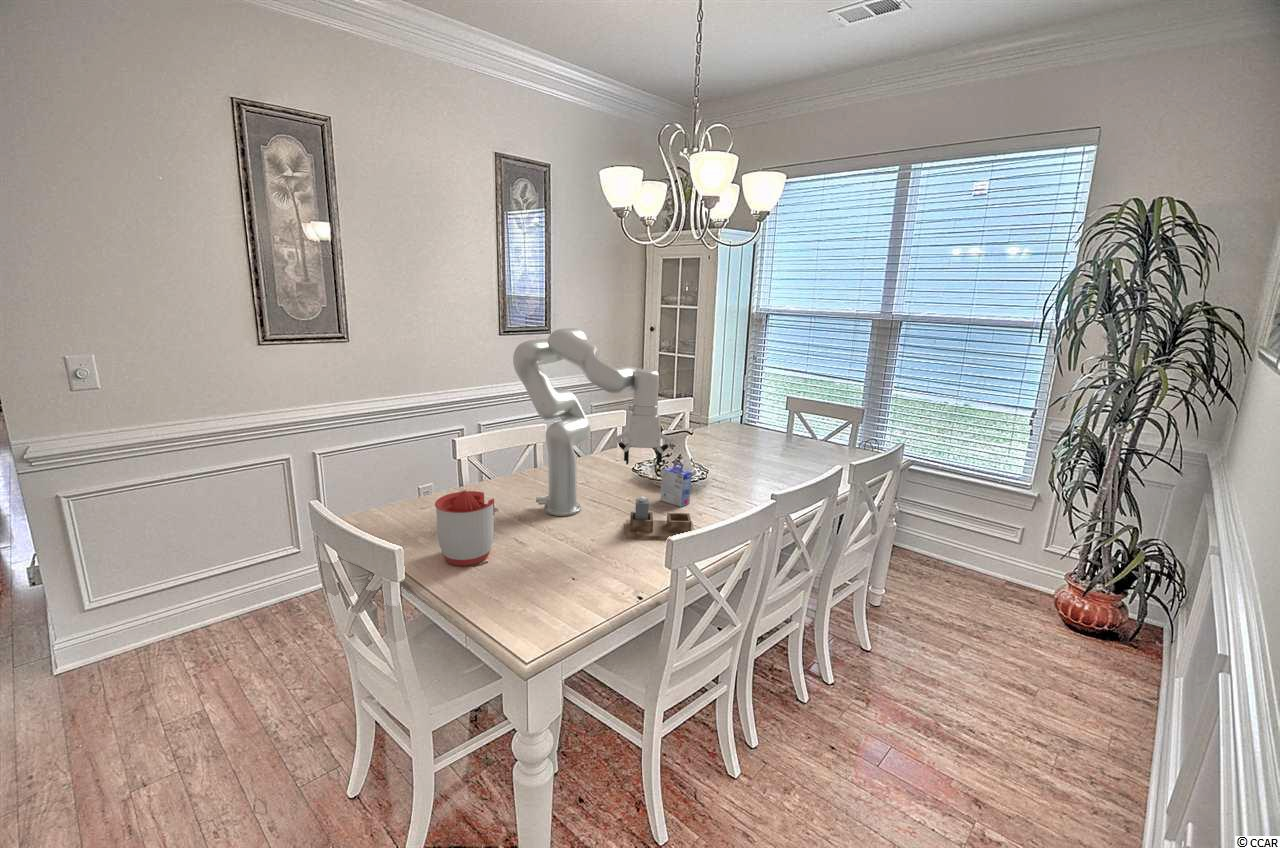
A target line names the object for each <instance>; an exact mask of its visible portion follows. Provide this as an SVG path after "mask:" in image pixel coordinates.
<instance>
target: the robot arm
mask: <svg viewBox="0 0 1280 848" xmlns="http://www.w3.org/2000/svg"><path fill="white" fill-rule="evenodd" d="M598 357H599V350H598V347H597V346H596V345H594V344H592V343H590V342H589V341H588V338H587V336H586V334H585V332H583V330H581V329H579V328H576V327H570V328H569V327H568V328H558V329H555V330H553V331H552V332H551V333H550V334H549V336H548V337H547V338H540V339H538V338H537V339H530V340H529V339H528V340H525V341H523V342H521V343H520V344H518V345H517V346H516V348H515V350H514V351H513V355H512V363H513V369H514V371H515V374H516V375H517V377H518V378H519V380H520V382H521V383H522V384H523V386H524V388H525V389H526V392H527V395H528V397H529V398H530V400H531V402H532V404H533V406H534V408H535V410H536V412H537V414H538V416H539V417H540V418H541V419H543V420H545V421H552V420H555V419H559V418H560V420H558V421H555V422H553V423H551V424H550V425H549V426H548V427H547V429H546V431H545V437H544V438H545V443H546V447H547V454H548V457H547V458H548V461H547V462H548V496H545V497H543V496H542V497H541V496H536V497H535V502H536V503H537V504H538V505H544V507H543V510H544V512H545V513H546V514H548V515H551V516H553V517H554V516H555V517H569V516H573V515H575V514H579V512H580V511H581V509H582V506H581V504H580V503H579V502H577V487H578V486H577V480H578V479H577V472H578V471H577V469H578V467H577V464H578V462H577V461H578V460H577V456H576V453H575V450H574V446H576V445H579V444H581V443H584V442H586V441H587V440H589V437H590V436H591V425H590V422H589V420H588V417H587V416H586V413H585V411H584V410H583V407H582V406H581V403H580V401H579V400H578V398H577V396H576V395H575V394H574V393H573V392H572V391H571V390H569V389H566V388H558V389H555V387H554V386H553V384H552V383H551V380H550V377H549V376H548V375H547V374H546V373H545V371H543V370H542V368H540V367H539V366H540V365H546V364H553V363H556V362H557V363H558V362H560V361H563V360H564V361H565V360H566V361H567V362H569V363H570V364H572V365H574V367H577V368H579V369H581V370H582V371H581V372H582V373H583V375H584V376H585V377H586V379H587V381H589V382H590V383H591V384H593V385H595V386H596V387H598V388H599V389H600V390H601V389H602V390H603V391H604V392H607V393H610V394H621V393H623V392H629V391H633V396H632V397H633V399H632V405H627V407H628V408H627V409H628V410H627V411H631V413H630V415H629V419H628V424H627V430H626V431H625V432H623V433H621V434H618V435H616V436H615V440H616V442H617V444H618V446H619V448H620V449H622V451H623V452H624V453H623V461H624V462H625V464H626V465H629V461H630V460H629V459H630V458H629V457H630V449H631V448H637V449H656V450H657V452H656V466H659V467H660V463H662V460H663V453H664V452H665V451H666V450H667V449H668V448H669V446H670V445H671V444H672V441H673V440H672V438H670V436H667V435H666V434H664V433H663V432H661V431H662V430H661V428H662V427H661V426H662V425H661V417H660V414H659V413H658V407H659V385H660V373H659V372H658V371H656V370H654V369H643V368H639V367H635V366H634V365H626V366H620V367H614V368H613V367H611V366H609V365H608V364H605V363H604V362H602V361H601V360H600V359H598ZM625 438H626V439H627V440H626V441H627V443H626V444H625V443H624V442H623V441H622V439H625ZM661 439H662V440H663V441H665V443H664V444H663V445H661Z"/></svg>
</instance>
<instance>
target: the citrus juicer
mask: <svg viewBox="0 0 1280 848" xmlns="http://www.w3.org/2000/svg"><path fill="white" fill-rule="evenodd" d="M434 505H435V512H436V530H437V532H436V533H437V538H438V539H437V540H438V544H439V546H440V549H441V553H442V556H443V558H444V560H445V562H447V563H448V564H450V565H454V566H459V567H465V566H472V565H476V564H479V563H482V562H483V561H485V560H486V559H487V558H488V556H489V554H490V553H491V552H490V551H491V549H492V545H493V542H494V534H495V533H494V531H495V528H494V527H495V519H494V517H495V513H499V512H500V510H499V509H498V507H495V498H491V499H490V500H488V502H487V503H485V492H482V491H477V490H476V491H473V490H472V491H470V490H462V491H457V492H452V493H448V494H445V495H443V496H441V497H439V498H438V499H437V500H436V501H435V503H434Z"/></svg>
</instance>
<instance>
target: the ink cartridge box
mask: <svg viewBox="0 0 1280 848" xmlns="http://www.w3.org/2000/svg"><path fill="white" fill-rule="evenodd" d="M678 466H679V467H678ZM683 468H684V464H683V463H679V462H675V463H674V466H668V467H665V468H663V469H661V482H660V483H661V486H660V501H662V502H665V503H669V504H671V505H675V506H678V507H684V506H687V505H690V500H691V485H692V472H691V471H688V470H684V469H683Z"/></svg>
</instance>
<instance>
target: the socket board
mask: <svg viewBox="0 0 1280 848" xmlns="http://www.w3.org/2000/svg"><path fill="white" fill-rule="evenodd" d="M691 519H692V518H691V515H690V513H689V512H667V517H666V520H659V519H658V520H657V519H655V520H654V516H653V512H649V511H648V520H635V511H630V517H629V519H625V540H629V539H630V540H632V539H633V540H662V541H663V540H664V541H665V540H666V539H667V538H668V537H669V536H673V535H676V534H680V533H684V532H688V531H692V530H695V528H694V523H693V521H692V520H691Z"/></svg>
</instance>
